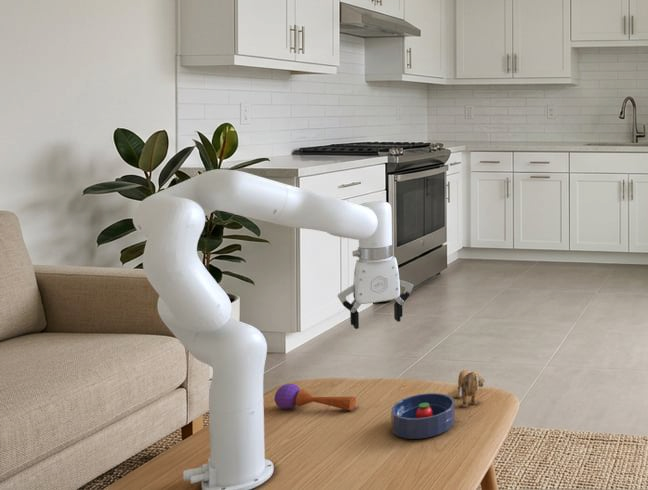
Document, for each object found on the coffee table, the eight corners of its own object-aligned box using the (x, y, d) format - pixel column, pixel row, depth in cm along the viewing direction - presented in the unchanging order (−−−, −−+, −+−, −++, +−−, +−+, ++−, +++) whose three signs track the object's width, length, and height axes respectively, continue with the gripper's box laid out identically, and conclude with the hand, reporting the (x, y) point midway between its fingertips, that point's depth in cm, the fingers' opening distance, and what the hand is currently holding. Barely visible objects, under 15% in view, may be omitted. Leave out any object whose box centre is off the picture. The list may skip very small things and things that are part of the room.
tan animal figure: (487, 407, 167) (487, 372, 167) (467, 413, 164) (466, 377, 164) (467, 388, 179) (466, 355, 179) (447, 392, 176) (447, 359, 176)
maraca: (346, 400, 162) (268, 391, 164) (347, 421, 164) (270, 412, 165) (358, 386, 168) (283, 377, 170) (358, 406, 170) (284, 398, 171)
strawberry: (418, 429, 154) (418, 409, 154) (413, 423, 157) (413, 403, 157) (434, 425, 156) (434, 405, 156) (429, 418, 160) (429, 399, 159)
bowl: (400, 447, 147) (400, 425, 147) (385, 422, 159) (385, 402, 159) (463, 430, 155) (462, 409, 155) (443, 408, 167) (443, 388, 167)
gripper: (340, 260, 152) (341, 334, 152) (416, 251, 161) (417, 321, 162) (334, 254, 158) (335, 326, 159) (408, 246, 168) (409, 314, 168)
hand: (377, 323), depth 160 cm, fingers open, 9 cm apart
